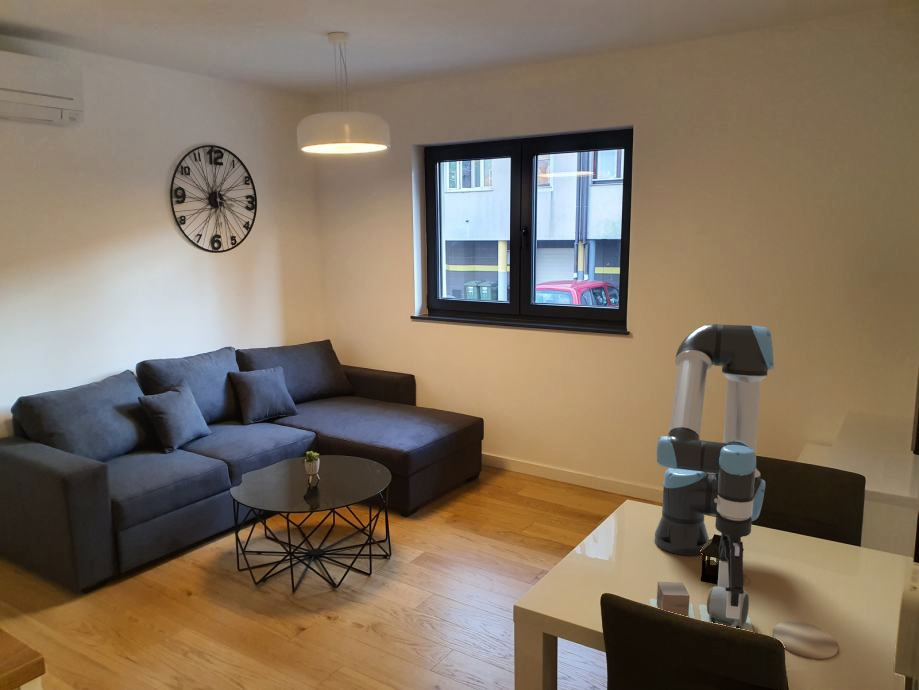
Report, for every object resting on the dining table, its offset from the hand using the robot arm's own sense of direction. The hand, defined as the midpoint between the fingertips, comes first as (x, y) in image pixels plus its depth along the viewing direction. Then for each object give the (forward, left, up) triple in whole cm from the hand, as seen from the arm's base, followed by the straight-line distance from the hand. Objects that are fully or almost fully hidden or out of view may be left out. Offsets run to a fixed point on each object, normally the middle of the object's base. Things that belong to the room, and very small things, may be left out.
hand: (728, 601), depth 156 cm
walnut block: (-2, -12, -6) cm, 13 cm away
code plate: (0, 0, -6) cm, 6 cm away
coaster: (+3, +16, -6) cm, 17 cm away
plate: (-2, -12, -6) cm, 13 cm away
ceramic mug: (0, 0, -6) cm, 6 cm away
